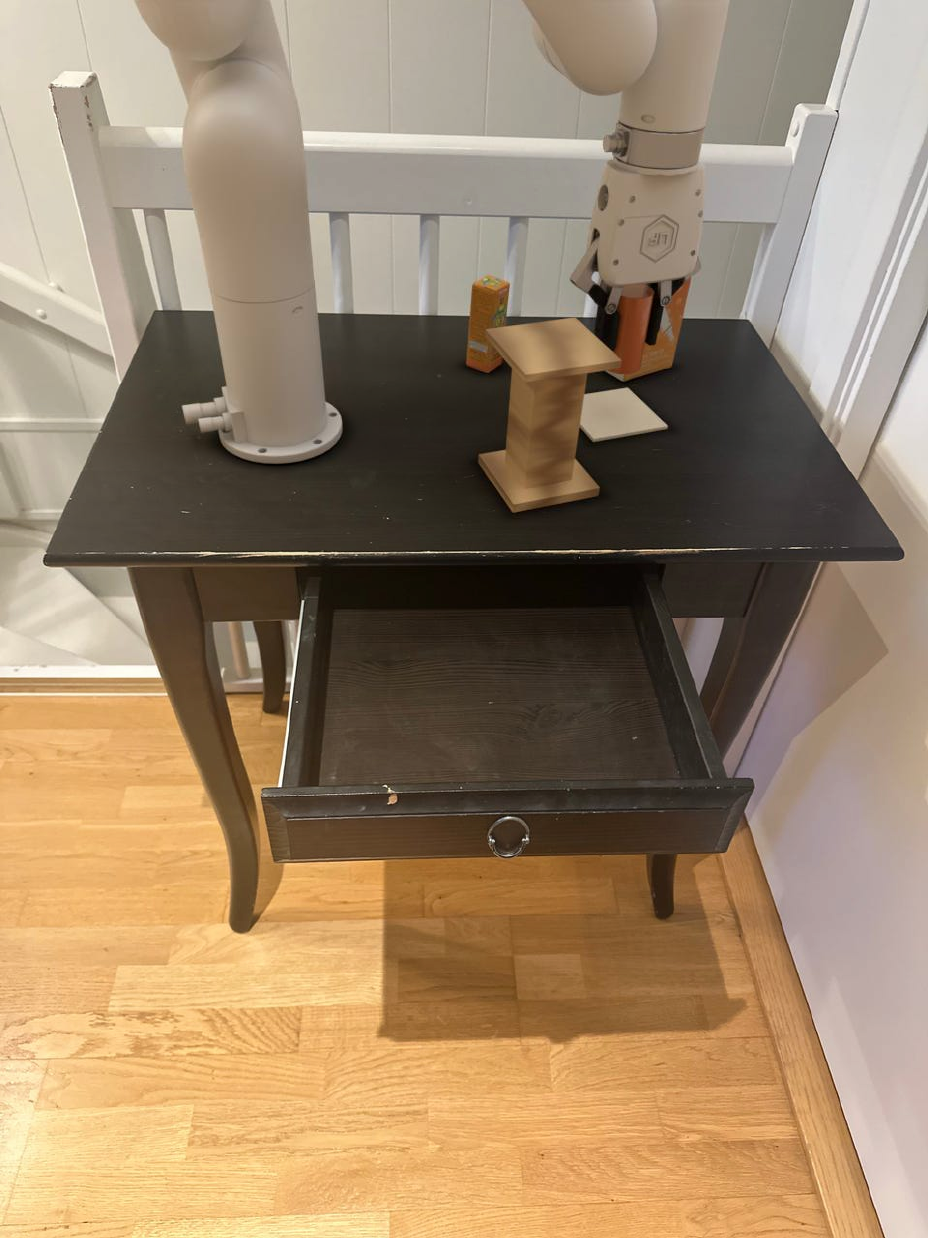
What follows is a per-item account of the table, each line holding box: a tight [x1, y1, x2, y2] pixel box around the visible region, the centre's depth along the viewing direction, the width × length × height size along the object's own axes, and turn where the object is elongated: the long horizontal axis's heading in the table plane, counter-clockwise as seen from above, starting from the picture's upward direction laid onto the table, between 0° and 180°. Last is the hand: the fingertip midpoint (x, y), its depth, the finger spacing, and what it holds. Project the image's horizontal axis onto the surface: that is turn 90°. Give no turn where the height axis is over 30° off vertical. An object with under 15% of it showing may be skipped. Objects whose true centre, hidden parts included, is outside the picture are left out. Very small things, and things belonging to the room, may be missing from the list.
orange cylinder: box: [608, 284, 654, 375], centre depth 86 cm, size 4×4×8 cm
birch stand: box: [477, 317, 621, 514], centre depth 78 cm, size 9×9×14 cm
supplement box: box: [465, 274, 511, 374], centre depth 97 cm, size 3×3×10 cm
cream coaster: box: [579, 387, 669, 443], centre depth 92 cm, size 9×9×1 cm
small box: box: [605, 276, 693, 383], centre depth 97 cm, size 8×6×13 cm
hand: (625, 341), depth 87 cm, fingers closed on orange cylinder, 4 cm apart
